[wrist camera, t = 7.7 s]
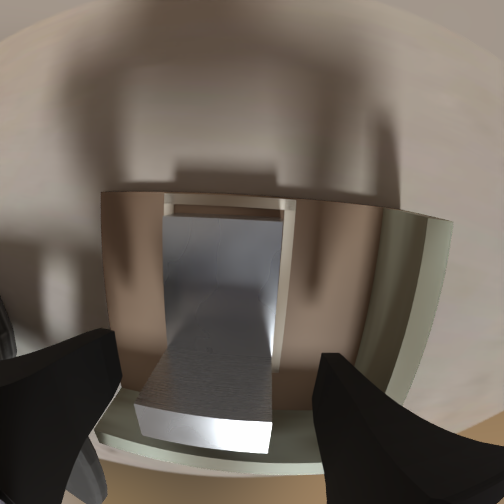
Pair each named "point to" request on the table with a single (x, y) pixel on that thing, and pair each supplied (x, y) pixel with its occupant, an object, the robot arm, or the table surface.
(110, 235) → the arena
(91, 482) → the zipper pull
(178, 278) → the angle bracket
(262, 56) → the table surface
